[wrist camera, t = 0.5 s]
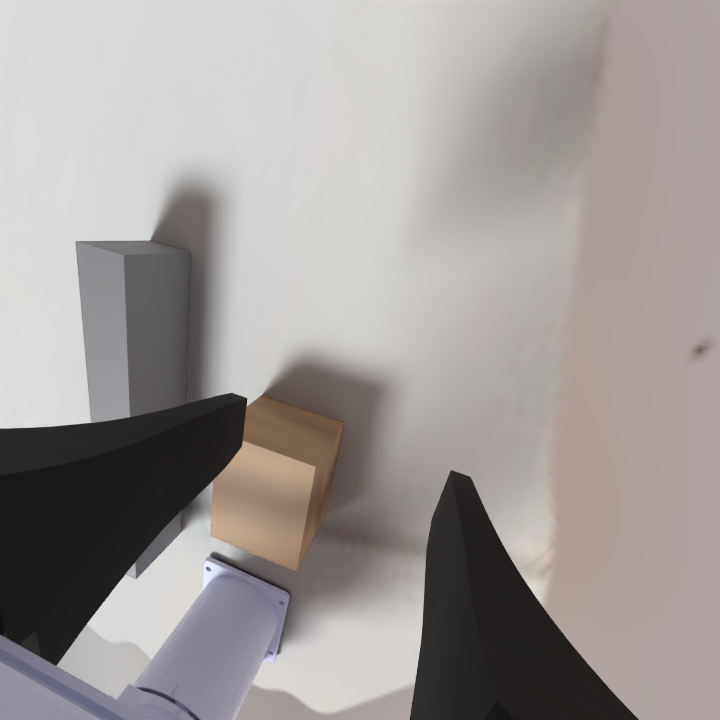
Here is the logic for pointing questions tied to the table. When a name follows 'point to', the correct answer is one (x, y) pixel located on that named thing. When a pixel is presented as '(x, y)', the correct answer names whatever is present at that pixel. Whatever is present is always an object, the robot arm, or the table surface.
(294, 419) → the tan block
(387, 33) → the table surface
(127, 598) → the table surface
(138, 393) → the gray rectangular bar
